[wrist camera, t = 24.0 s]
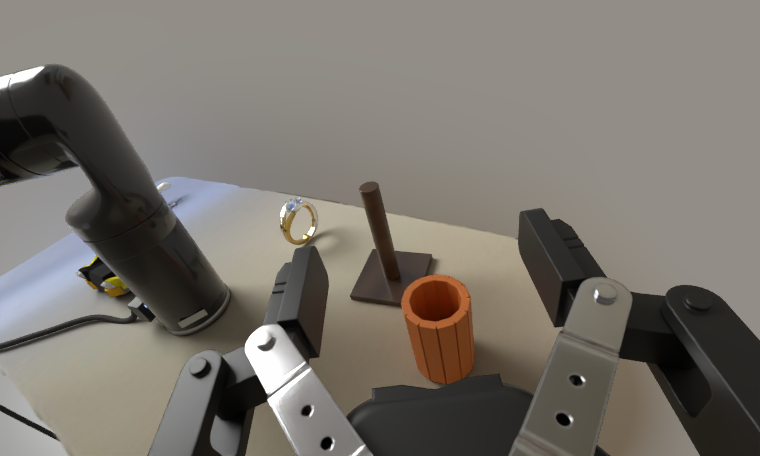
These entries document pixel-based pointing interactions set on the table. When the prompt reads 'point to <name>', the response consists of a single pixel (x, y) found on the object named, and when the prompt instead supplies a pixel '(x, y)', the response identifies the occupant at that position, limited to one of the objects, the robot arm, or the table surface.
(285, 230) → the ring
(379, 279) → the brown peg stand
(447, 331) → the orange stave barrel
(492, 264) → the table surface
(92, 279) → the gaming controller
